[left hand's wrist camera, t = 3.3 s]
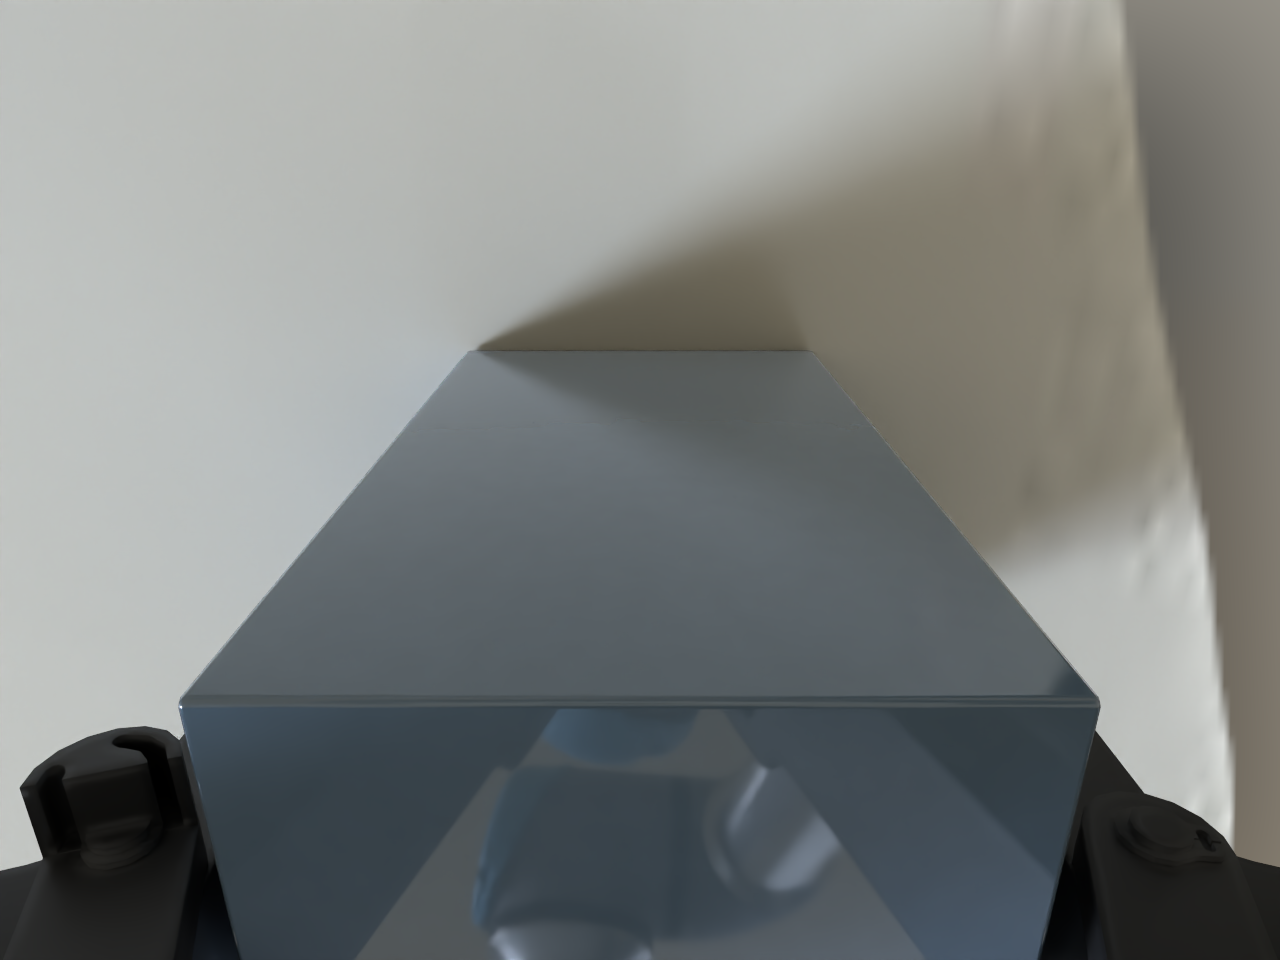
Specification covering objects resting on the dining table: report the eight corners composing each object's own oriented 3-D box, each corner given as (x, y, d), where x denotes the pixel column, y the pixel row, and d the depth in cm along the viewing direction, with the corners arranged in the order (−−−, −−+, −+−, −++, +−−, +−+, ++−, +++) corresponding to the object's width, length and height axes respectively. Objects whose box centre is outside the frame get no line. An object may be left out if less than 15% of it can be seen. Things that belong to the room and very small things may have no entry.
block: (790, 651, 18) (970, 1263, 8) (489, 651, 18) (308, 1263, 8) (812, 349, 16) (1106, 701, 6) (467, 349, 16) (170, 700, 6)
